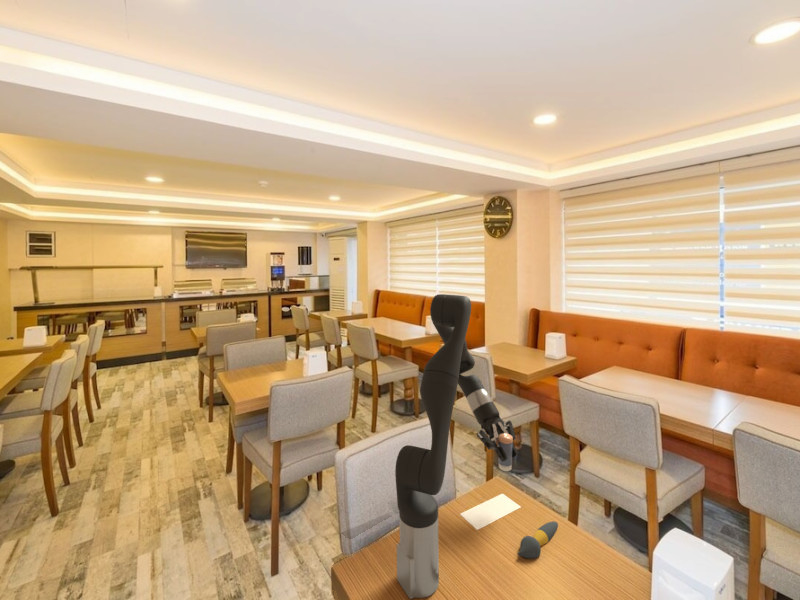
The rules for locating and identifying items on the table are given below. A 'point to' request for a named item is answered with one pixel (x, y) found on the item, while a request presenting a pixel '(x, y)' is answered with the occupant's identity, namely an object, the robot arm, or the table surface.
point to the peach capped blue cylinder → (506, 451)
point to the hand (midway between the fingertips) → (510, 458)
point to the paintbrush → (537, 540)
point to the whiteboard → (490, 511)
